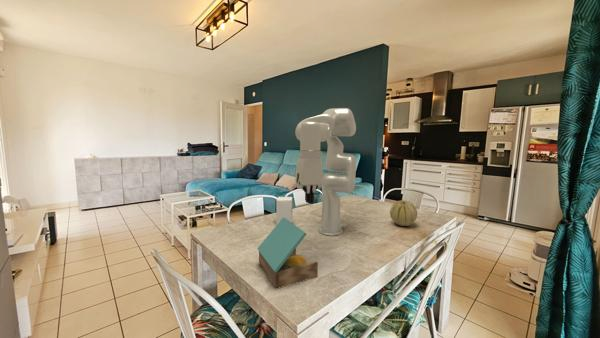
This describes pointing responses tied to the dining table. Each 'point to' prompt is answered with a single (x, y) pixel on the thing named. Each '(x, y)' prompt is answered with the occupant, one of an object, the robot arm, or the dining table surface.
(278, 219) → the supplement box
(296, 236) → the lid
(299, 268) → the brown wooden box
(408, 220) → the cantaloupe
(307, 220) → the dining table surface
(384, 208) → the dining table surface
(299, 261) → the bread roll
